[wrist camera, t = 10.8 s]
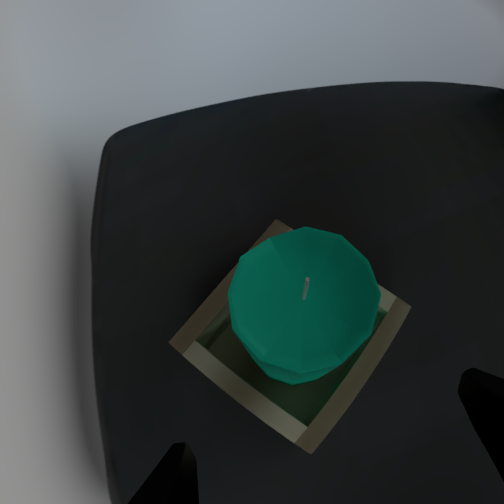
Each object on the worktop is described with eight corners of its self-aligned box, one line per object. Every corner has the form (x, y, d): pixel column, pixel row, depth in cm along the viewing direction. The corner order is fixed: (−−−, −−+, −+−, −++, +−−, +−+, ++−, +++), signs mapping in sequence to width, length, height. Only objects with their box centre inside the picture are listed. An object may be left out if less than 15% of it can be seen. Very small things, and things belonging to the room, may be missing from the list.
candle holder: (390, 324, 22) (411, 306, 18) (305, 444, 19) (311, 454, 15) (277, 249, 26) (276, 219, 22) (188, 353, 22) (168, 342, 18)
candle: (337, 303, 22) (383, 208, 11) (336, 386, 20) (395, 368, 9) (254, 300, 23) (229, 203, 12) (247, 383, 20) (208, 362, 10)
